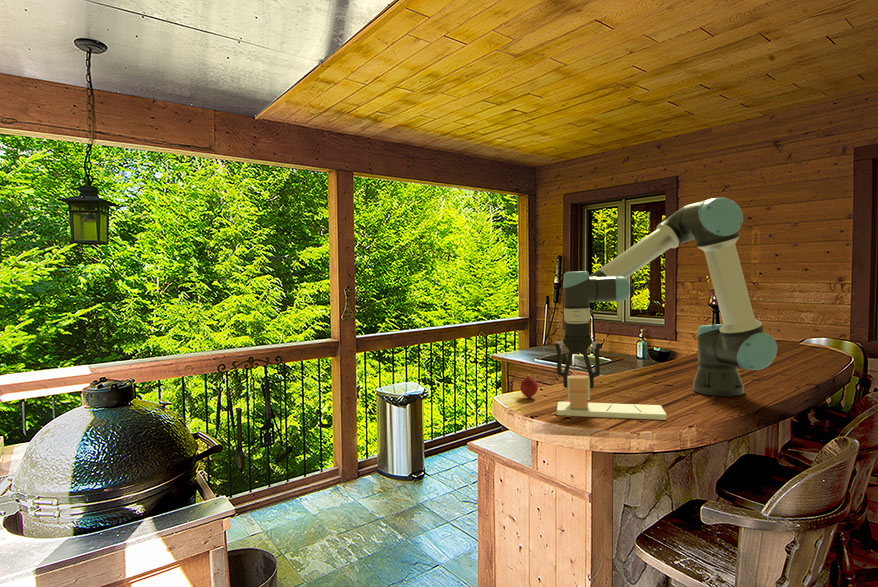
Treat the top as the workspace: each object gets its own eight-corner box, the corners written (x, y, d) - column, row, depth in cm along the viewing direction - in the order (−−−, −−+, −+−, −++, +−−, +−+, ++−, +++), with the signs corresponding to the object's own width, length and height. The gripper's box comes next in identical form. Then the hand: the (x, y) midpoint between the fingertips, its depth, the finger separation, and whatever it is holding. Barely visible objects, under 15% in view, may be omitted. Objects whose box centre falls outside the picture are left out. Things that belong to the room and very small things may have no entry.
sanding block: (587, 403, 151) (586, 374, 151) (587, 410, 144) (587, 379, 143) (570, 402, 153) (570, 374, 152) (570, 409, 145) (569, 379, 145)
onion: (538, 400, 163) (537, 376, 163) (520, 400, 164) (520, 376, 163) (537, 396, 169) (536, 373, 168) (520, 395, 169) (520, 373, 169)
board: (660, 410, 146) (660, 405, 146) (666, 419, 137) (666, 414, 137) (558, 406, 155) (558, 401, 155) (556, 415, 145) (556, 410, 145)
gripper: (545, 323, 146) (547, 400, 147) (609, 323, 141) (611, 402, 142) (547, 321, 153) (549, 394, 154) (607, 320, 148) (609, 396, 149)
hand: (578, 398), depth 148 cm, fingers closed on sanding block, 5 cm apart
